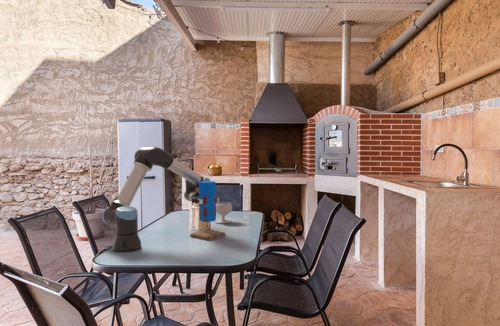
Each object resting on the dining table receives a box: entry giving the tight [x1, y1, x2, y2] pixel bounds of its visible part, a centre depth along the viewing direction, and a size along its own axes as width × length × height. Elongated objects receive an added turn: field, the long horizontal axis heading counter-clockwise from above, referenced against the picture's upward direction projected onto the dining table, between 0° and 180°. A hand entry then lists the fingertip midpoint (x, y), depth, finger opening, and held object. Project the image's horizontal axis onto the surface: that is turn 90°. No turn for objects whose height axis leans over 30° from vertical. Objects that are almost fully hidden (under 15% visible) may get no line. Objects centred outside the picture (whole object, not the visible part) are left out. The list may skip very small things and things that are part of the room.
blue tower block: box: [198, 180, 217, 223], centre depth 226 cm, size 11×11×25 cm
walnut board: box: [189, 228, 226, 241], centre depth 227 cm, size 16×16×2 cm
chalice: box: [215, 201, 233, 224], centre depth 271 cm, size 14×14×15 cm
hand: (210, 201), depth 222 cm, fingers closed on blue tower block, 11 cm apart
